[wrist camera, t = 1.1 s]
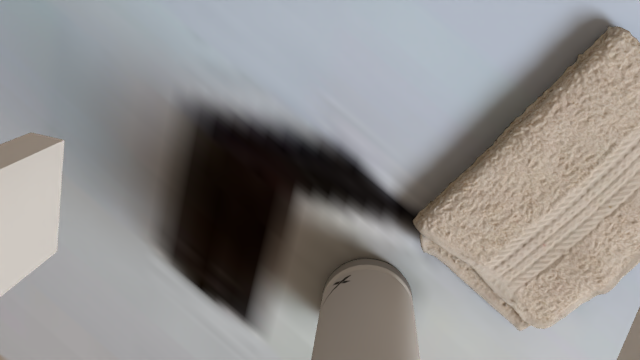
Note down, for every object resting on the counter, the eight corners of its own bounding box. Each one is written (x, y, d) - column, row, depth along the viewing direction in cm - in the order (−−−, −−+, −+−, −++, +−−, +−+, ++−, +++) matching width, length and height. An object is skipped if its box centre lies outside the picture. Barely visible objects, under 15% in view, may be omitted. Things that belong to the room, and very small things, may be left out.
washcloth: (401, 224, 39) (403, 242, 36) (606, 15, 34) (628, 16, 31) (526, 329, 41) (538, 354, 38) (740, 143, 36) (773, 156, 33)
